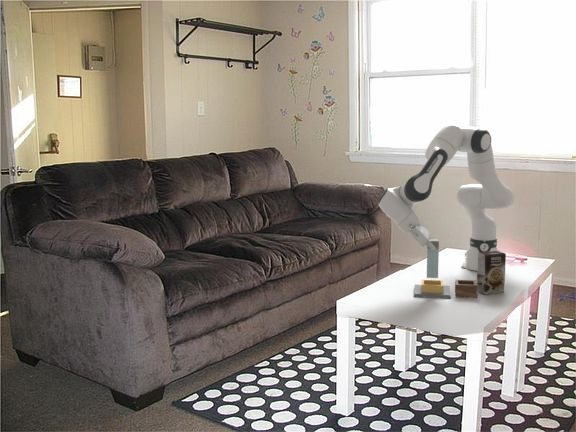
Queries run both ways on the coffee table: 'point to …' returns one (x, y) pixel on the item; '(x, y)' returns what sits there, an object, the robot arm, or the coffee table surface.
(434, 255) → the plug
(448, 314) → the coffee table surface
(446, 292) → the dock
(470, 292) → the box
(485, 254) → the coffee box
